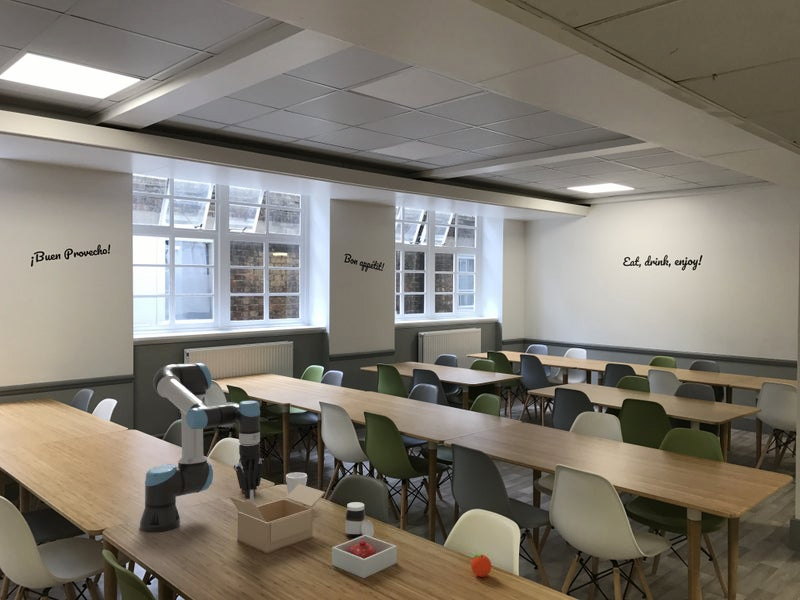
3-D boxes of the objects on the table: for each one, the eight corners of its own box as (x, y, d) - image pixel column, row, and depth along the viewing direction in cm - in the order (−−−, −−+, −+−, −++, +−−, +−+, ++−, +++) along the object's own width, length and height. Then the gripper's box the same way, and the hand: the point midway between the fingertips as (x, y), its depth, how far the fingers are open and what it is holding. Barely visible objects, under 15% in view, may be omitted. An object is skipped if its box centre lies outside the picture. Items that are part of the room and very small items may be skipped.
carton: (267, 554, 227) (268, 523, 227) (236, 540, 239) (237, 511, 239) (313, 537, 243) (313, 509, 243) (282, 525, 256) (282, 498, 256)
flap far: (324, 492, 250) (325, 492, 250) (298, 483, 260) (299, 484, 260) (311, 506, 244) (311, 507, 245) (285, 497, 255) (285, 498, 255)
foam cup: (302, 508, 277) (302, 479, 277) (282, 506, 279) (282, 477, 279) (309, 501, 286) (309, 473, 286) (290, 499, 288) (290, 471, 288)
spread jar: (347, 529, 253) (347, 500, 253) (374, 530, 252) (375, 501, 252) (343, 540, 241) (344, 510, 241) (372, 541, 240) (373, 511, 240)
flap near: (265, 520, 228) (264, 521, 227) (239, 510, 238) (238, 511, 238) (255, 505, 224) (254, 506, 224) (230, 495, 235) (229, 496, 235)
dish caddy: (363, 578, 208) (364, 560, 208) (331, 564, 219) (332, 547, 219) (396, 562, 221) (396, 546, 221) (364, 550, 231) (365, 534, 231)
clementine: (465, 577, 210) (465, 556, 210) (470, 569, 217) (470, 549, 217) (488, 581, 207) (489, 560, 207) (493, 573, 214) (493, 552, 214)
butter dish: (354, 574, 212) (355, 549, 212) (340, 562, 222) (340, 538, 222) (384, 567, 217) (385, 543, 217) (369, 555, 227) (369, 532, 227)
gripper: (241, 448, 223) (241, 514, 224) (269, 441, 233) (270, 504, 233) (228, 445, 228) (229, 509, 228) (257, 438, 238) (257, 500, 238)
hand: (250, 506), depth 231 cm, fingers closed
